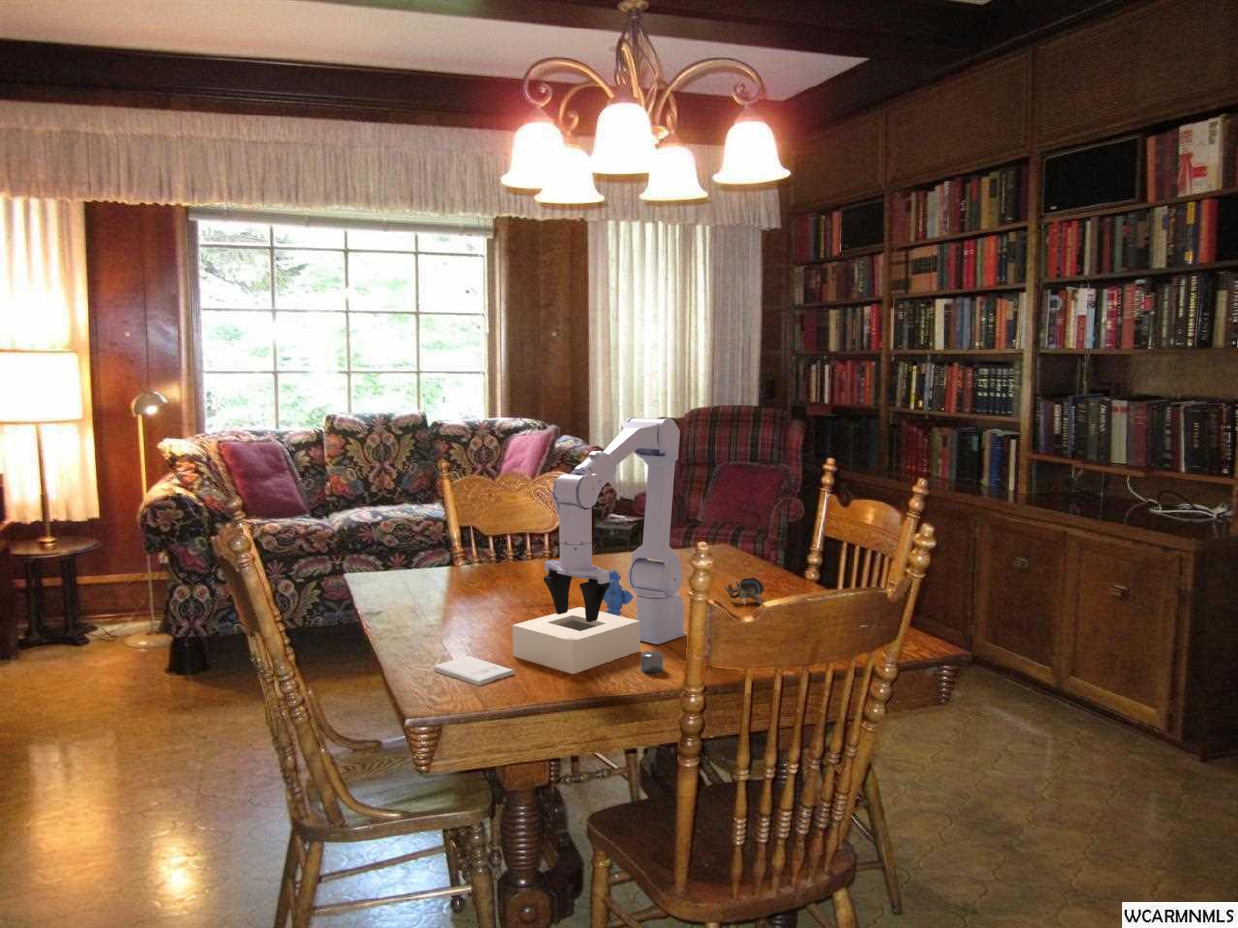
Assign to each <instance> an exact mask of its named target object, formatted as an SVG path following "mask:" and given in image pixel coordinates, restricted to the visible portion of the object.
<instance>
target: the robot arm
mask: <svg viewBox="0 0 1238 928" xmlns="http://www.w3.org/2000/svg"><path fill="white" fill-rule="evenodd" d="M680 435H681V431H680V429H679V427H678V424H677V423H676V421H675V420H674V419H672V418H670V417H667V418H653V417H652V418H651V417H649V418H648V417H636V416H630V417H628V418H627V419H625V421H624V422H623V423H621V425H620V432H619V433H618V435H617V436H616V437H615V438H614V439H613V440H612V441H611V443H610V444H609V445H608V446H607V447H606V448H605V449H604V450H603V451H601V450H597V451H591V452H590V453H589V454H588V457H586V459H584V460H583V461H582V462H581V463H580V464H579V465H577V466H576V467H574V469H573V470H572V471H571V472H570V473H564V474H561V475H560V476H559V477H557V479H556V480H555V481H554V483H553V487H552V490H551V492H550V493H551V498H552V501H553V502H554V505H555V511H556V515H557V516H558V519H559V520H558V522H559V523H558V525H559V526H558V527H559V529H558V530H559V532H558V533H559V535H558V536H559V560H554V559H550V560H546V561H544V572H545V573H548V574H546V575H545V576H543V581H544V583H545V585H546V586H547V588H548V590H549V592H550V596H551V598H552V601H553V604H554V608H555V612H556V613H557V614H559V615H560V614H563V613H567V611H568V610H569V597H570V596H569V595H570V589H571V588H570V587H571V583H572V579H573V578H577V579H582V580H585V581H586V580H587V581H586V582H582V583H581V582H580V583H579V587H580V590H581V594H582V596H583V601H584V608H585V616H586V621H587V622H592V621H596V620H597V618H598V614H599V611H601V607H602V602H603V601H604V600H603V597H604V595H605V593H606V591H607V589H608V588H609V586H610V582H609V571H610V570H606V569H602V568H600V567H599V566H598V567H597V566H596V565H593V547H592V546H593V538H592V537H593V536H592V535H593V534H592V533H593V529H592V528H593V527H592V517H593V515H592V513H593V511H592V507H593V506H595V505H596V503H597V501H598V499H599V495H600V493H601V492H602V488H603V487H604V486H605V485H606V484H607V483H608V482H609V481H611V480H612V479H613V478H614V477H615V475H616V474H617V470H618V468H617V466H618V465H619V464H620V463H621V462H623V461H624V460H625V459H627V458H628V457H630V455H632V454H633V453H634V454H635V455H636V456H637V457H638V458H640V459H642V460H643V461H644V463H645V464H646V465H647V481H646V490H645V491H646V494H645V509H644V518H643V519H644V523H643V535H642V536H643V537H642V544H641V545H640V546H638V548H636V549H635V550H634V551H633V552H632V553H631V560H630V563H629V564H630V565H629V566H628V568H627V581H628V584H629V586H630V587H631V589H633V594H636V620H639V621H640V642H645V643H648V644H652V645H660V644H661V645H662V644H664V643H667V642H670V641H672V640H675V639H678V638H682V637H684V636H687V635H686V633H687V632H686V631H684V628H685V627H684V625H685V624H684V622H685V621H684V617H685V615H684V612H685V611H684V610H685V609H684V608H685V606H684V600H683V598H682V596H681V595H680V593H678V591H679V590H680V588H681V586H682V583H683V571H682V568H681V559H682V558H681V556H680V555H679V554H678V553H677V552H676V551H675V550H674V549H673V548H672V547H671V546H670V536H671V525H672V524H671V523H672V522H671V521H672V509H673V496H674V495H673V494H674V480H675V467H676V466H675V465H676V461H678V459H679V451H680V449H679V448H680V438H681V436H680Z"/></svg>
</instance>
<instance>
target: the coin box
mask: <svg viewBox="0 0 1238 928" xmlns="http://www.w3.org/2000/svg"><path fill="white" fill-rule="evenodd" d="M511 626H512V628H511V629H512V656H513V657H515V658H517V659H522V660H525V661H527V662H531V663H535V664H537V665H541V666H544V667H548V668H551V669H553V670H558V671H561V672H564V673H567V674H571V675H574V674H578V673H580V672H584V671H586V670H589V669H593V668H596V667H599V666H601V664H602V665H605V664H607V662H608V663H610V661H611V662H613V660H614V661H616V660H615V659H617V660H619V659H618V658H620V659H621V657H623V658H625V656H626V657H629V656H631V655H630V654H632V655H634V654H633V653H635V654H637V653H636V652H638V653H640V652H641V641H640V621H639V620H637V619H633V618H630V617H626V616H617V615H613V614H609V613H605V612H604V611H601V610H599V614H598V618H597V620H596V621H592V622H587V621H586V616H585V607H582V606H579V607H574V608H571V609H568V611H567V613H563V614H560V615H559V614H557V613H552V614H549V615H545V616H544V615H543V616H541V617H538V618H534V619H529V620H526V621H522V622H519V623H514V624H512V625H511ZM639 651H640V652H639ZM628 655H629V656H628ZM604 663H605V664H604ZM598 665H599V666H598ZM595 666H596V667H595Z"/></svg>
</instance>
